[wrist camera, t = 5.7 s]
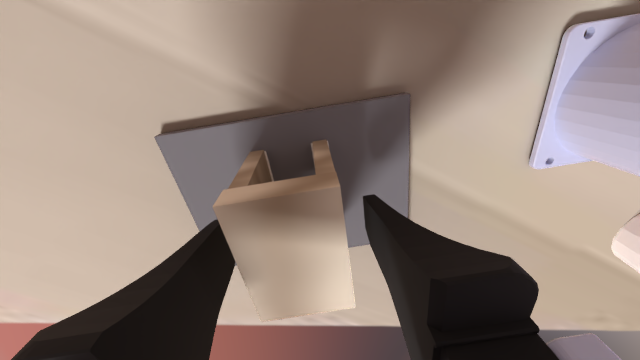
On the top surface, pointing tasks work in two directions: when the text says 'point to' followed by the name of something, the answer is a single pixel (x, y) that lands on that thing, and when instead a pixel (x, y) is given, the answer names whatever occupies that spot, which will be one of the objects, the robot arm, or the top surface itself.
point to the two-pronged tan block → (288, 237)
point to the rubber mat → (301, 155)
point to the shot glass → (628, 243)
